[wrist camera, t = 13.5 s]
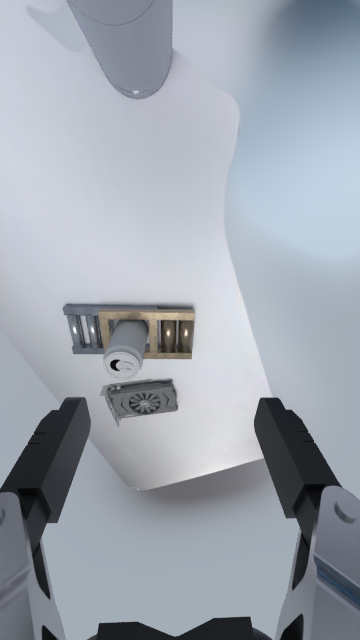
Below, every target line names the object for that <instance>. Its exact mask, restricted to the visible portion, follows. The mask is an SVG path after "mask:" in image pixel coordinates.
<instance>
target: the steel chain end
mask: <svg viewBox="0 0 360 640" xmlns="http://www.w3.org/2000/svg"><path fill="white" fill-rule="evenodd" d="M101 308H110V309H158V306H129V305H65V306H64V307H63V311H64V315H67V319H68V323H69V327H70V332H71V336H72V341H73V345H74V346H73V347H72V350H73V354H105V352H104V345H103V344H101V340H100V333H99V327H98V321H97V315H99V313H98V312H99V310H100V309H101ZM78 315H85V316H86V321H87V327H88V332H89V338H90V343H91V344H84V341H83V336H82V331H81V326H80V321H79V316H78ZM110 322H111V330H112V335H113V333H114V328H113V320H112V319H110ZM157 323H158V320H157ZM145 349H150V345H146V346H145Z"/></svg>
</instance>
